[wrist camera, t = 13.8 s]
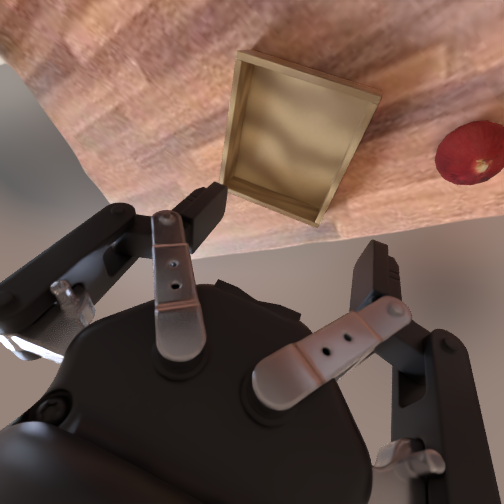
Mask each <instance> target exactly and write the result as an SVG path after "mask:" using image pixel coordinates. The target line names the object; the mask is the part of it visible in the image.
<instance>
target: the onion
mask: <svg viewBox="0 0 504 504" xmlns="http://www.w3.org/2000/svg"><path fill="white" fill-rule="evenodd" d="M435 163H436V168H437V170H438V172H439V173H440V174H441V176H442V177H443V178H444V179H445V180H447V181H449V182H452V183H454V184H457V185H474V184H477V183H481V182H485V181H487V180H489V179H490V178H492V177H493V176H495V175H496V174H498V173H499V172H500V171H501V170H502V169H503V168H504V127H503V126H502V125H499V124H496V123H493V122H490V121H474V122H471V123H468V124H465V125H463V126H460V127H458V128H457V129H455V130H454V131H452V132H451V133H449V134H448V135H447V136H446V137H445V138H444V140H443V141H442V142H441V143H440V145H439V146H438V150H437V153H436V156H435Z"/></svg>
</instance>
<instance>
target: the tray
mask: <svg viewBox="0 0 504 504" xmlns="http://www.w3.org/2000/svg"><path fill="white" fill-rule="evenodd" d="M381 98H382V93H381V90H378V89H375V88H371V87H368V86H365V85H362V84H359V83H356V82H352V81H349V80H346V79H343V78H340V77H337V76H334V75H330V74H327V73H324V72H321V71H318V70H315V69H311V68H308V67H305V66H302V65H299V64H296V63H293V62H289V61H286V60H283V59H280V58H277V57H274V56H270V55H267V54H264V53H261V52H258V51H255V50H238V51H237V54H236V61H235V68H234V76H233V83H232V90H231V98H230V105H229V112H228V119H227V127H226V134H225V141H224V149H223V156H222V163H221V171H220V178H219V183H220V184H223V185H225V186H227V187H228V193H230V194H233V195H235V196H238V197H240V198H243V199H245V200H248V201H250V202H253V203H255V204H258V205H260V206H263V207H265V208H268V209H270V210H273V211H275V212H278V213H280V214H283V215H286V216H288V217H291V218H293V219H296V220H298V221H301V222H303V223H306V224H308V225H311V226H313V227H316V228H318V227H319V224H320V222H321V220H322V218H323V216H324V214H325V212H326V210H327V208H328V206H329V204H330V202H331V200H332V198H333V196H334V194H335V192H336V190H337V188H338V186H339V184H340V182H341V180H342V178H343V176H344V174H345V171H346V169H347V167H348V165H349V163H350V161H351V159H352V157H353V155H354V153H355V151H356V149H357V147H358V145H359V143H360V141H361V139H362V137H363V135H364V133H365V131H366V129H367V127H368V125H369V123H370V121H371V118H372V116H373V114H374V112H375V110H376V108H377V106H378V104H379V102H380V100H381Z"/></svg>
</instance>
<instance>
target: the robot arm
mask: <svg viewBox="0 0 504 504" xmlns="http://www.w3.org/2000/svg"><path fill="white" fill-rule="evenodd" d="M227 192H228V187H227V186H225V185H223V184H220V183H217V182H213V183H212V184H211V185H210V186H209V187H208V188H205V187H202V188H199V189H196V190H194V191H193V192H192V193H191V194H190V195H188V196H187V197H186V198H185V199H184V200H183V201H182V202H180V203H179V204H178V205H177V206H176V207H175V208H173V209H172V210H162V211H158V212H156V213H155V214H153V216H144V215H137V214H136V212H135V208H134V207H133V206H132V205H130V204H127V203H113V204H110V205H108V206H106V207H105V208H103V209H102V210H101V211H99V212H98V213H96V214H95V215H94V216H92V217H91V218H89V219H88V220H87V221H85V222H84V223H82V224H81V225H80V226H78V227H77V228H76V229H74V230H73V231H72V232H70V233H69V234H67V235H66V236H64V237H63V238H62V239H60V240H59V241H58V242H56V243H55V244H53V245H52V246H51V247H49V248H48V249H47V250H45V251H44V252H42V253H41V254H40V255H38V256H37V257H35V258H34V259H33V260H31V261H30V262H28V263H27V264H26V265H24V266H23V267H22V268H20V269H19V270H17V271H16V272H15V273H13V274H12V275H10V276H9V277H8V278H6V279H5V280H4V281H2V282H1V283H0V342H1V343H2V344H3V345H4V346H5V347H6V348H8V349H9V350H11V351H12V352H13V353H14V354H15V355H16V356H17V357H18V358H20V359H22V360H28V361H29V360H36V359H39V358H41V357H44V358H46V359H49V360H51V361H54V362H56V363H58V364H61V366H60V368H59V370H58V373H57V375H56V377H55V379H54V381H53V382H52V384H51V385H50V387H49V388H48V390H47V392H46V393H45V394H44V395H43V396H42V398H41V399H40V400H39V401H38V402H37V403H35V404H34V405H33V406H32V407H31V408H30V409H28V410H27V411H26V412H25V413H23V415H21V416H20V417H18V418H17V419H16V420H14V421H13V422H12V423H11V424H9V425H7V426H6V427H5V428H3V429H2V430H1V431H0V504H501V501H500V496H499V491H498V487H497V482H496V477H495V473H494V469H493V464H492V460H491V455H490V450H489V446H488V442H487V437H486V432H485V428H484V423H483V419H482V414H481V409H480V405H479V400H478V396H477V391H476V387H475V382H474V378H473V373H472V369H471V364H470V360H469V355H468V351H467V349H466V347H465V346H464V344H463V343H462V342H461V341H460V340H459V339H458V338H457V337H456V336H455V335H453V334H452V333H450V332H448V331H445V330H443V329H435V330H433V331H432V332H429V331H428V330H426V329H425V328H423V327H421V326H420V325H418V324H417V323H415V322H414V321H413V320H412V314H411V311H410V309H409V308H408V307H407V305H406V304H404V303H403V302H402V297H401V286H400V277H399V266H398V264H397V262H396V261H395V259H394V258H393V257H390V256H388V245H386V244H383V243H381V242H378V241H375V240H371V241H370V243H369V244H368V245H367V247H366V248H365V250H364V251H363V253H362V254H361V256H360V257H359V259H358V261H357V262H356V264H355V267H354V270H353V280H352V289H351V300H350V310H349V313H347V314H345V315H343V316H342V317H340V318H338V319H337V320H335V321H333V322H331V323H330V324H328V325H326V326H324V327H323V328H321V329H319V330H318V331H316V332H314V333H312V332H311V330H309V328H308V327H307V326H306V325H305V324H303V323H302V322H301V321H299V320H300V316H301V314H300V313H298V312H295V311H293V310H291V309H288V308H286V307H284V306H281V305H277V304H272V303H267V302H261V301H257V300H255V299H254V298H252V297H251V296H249V295H248V294H247V293H245V292H244V291H242V290H241V289H240V288H238V287H236V286H234V285H231V284H229V283H226V282H224V281H221V280H219V279H218V280H217V282H216V284H215V285H213V284H198V285H196V284H195V279H194V273H193V268H192V262H191V256H190V254H193V253H194V252H195V251H196V250H197V248H198V247H199V246H200V245H201V244H202V242H203V241H204V240H205V239H206V238H207V236H208V235H209V234H210V233H211V231H212V230H213V229H214V228H215V227H216V225H217V224H218V223H219V222H220V221H221V219H222V218H223V215H224V212H225V207H226V200H227ZM139 257H142V258H149V259H153V277H154V296H155V299H154V300H151V301H148V302H146V303H143V304H140V305H138V306H135V307H132V308H129V309H127V310H124V311H121V312H118V313H116V314H113V315H110V316H108V317H105V318H102V319H100V320H97V321H95V322H93V323H92V324H90V322H91V321H92V319H93V318H94V316H95V308H94V305H95V304H96V303H97V302H98V301H99V300H100V299H101V298H102V297H103V295H104V294H105V293H106V292H107V291H108V290H109V289H110V288H111V287H112V286H113V285H114V284H115V283H116V282H117V281H118V280H119V279H120V277H121V276H122V275H123V274H124V273H125V272H126V271H127V270H128V269H129V268H130V267H131V266H132V265H133V264H134V263H135V261H136V260H137V259H138V258H139ZM89 324H90V325H89ZM374 353H376V354H378V355H379V356H380V357H382V358H383V359H384V360H386V361H387V362H388V363H390V364H391V365H392V366H393V367H392V420H391V443H388V444H385V445H383V446H382V447H381V448H380V449H379V452H378V455H377V460H376V463H375V465H374V466H372V464H371V459H370V455H369V452H368V449H367V447H366V445H365V442H364V440H363V438H362V435H361V433H360V431H359V429H358V427H357V425H356V423H355V420H354V419H353V416H352V414H351V412H350V410H349V407H348V405H347V403H346V401H345V399H344V397H343V395H342V392H341V390H340V388H339V386H338V384H337V382H338V381H339V380H340V379H342V378H343V377H344V376H345V375H347V374H348V373H349V372H350V371H351V370H353V369H354V368H356V367H357V366H358V365H359V364H361V363H362V362H364V361H365V360H366V359H368V358H369V357H370V356H372V355H373V354H374Z"/></svg>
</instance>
